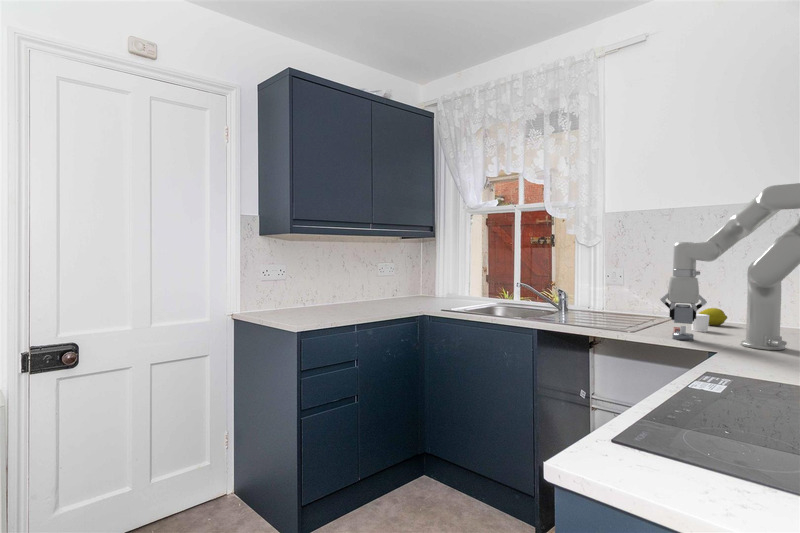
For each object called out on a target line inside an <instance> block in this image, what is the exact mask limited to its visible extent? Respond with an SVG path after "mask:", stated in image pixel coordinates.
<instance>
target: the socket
mask: <svg viewBox="0 0 800 533" xmlns="http://www.w3.org/2000/svg"><path fill="white" fill-rule="evenodd" d="M672 322H673V323H675V324H684V325H685V324H687V325H688V324H689V325H691V324H693V308H692V306H691V304H687V303H676V304H675V306H674V320H672Z"/></svg>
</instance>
